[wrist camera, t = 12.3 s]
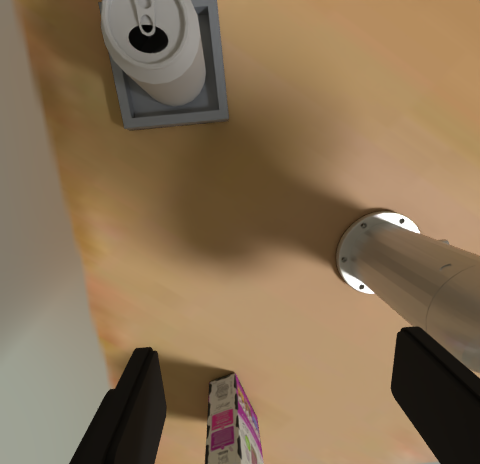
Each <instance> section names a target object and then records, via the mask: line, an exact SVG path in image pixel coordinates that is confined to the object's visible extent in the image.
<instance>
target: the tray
mask: <svg viewBox="0 0 480 464" xmlns="http://www.w3.org/2000/svg"><path fill="white" fill-rule="evenodd" d="M191 2H192V4H193V6H194V9H195V11H196V13H197V16H198V22H199V28H200V35H201V42H202V48H203V55H204V61H205V68H206V76H205V83H204V85H203V87H202V90H201V92H200V93H199V95H198V96H197V97H196V98H195V99H194V100H193V101H191V102H189V103H187V104H185V105H182V106H174V107H173V106H169V105H164V104H162V103H160V102H158V101H157V100H155V99H153V98H152V97H151V96H150V95H149V94H148V93H147V92H146V91H145V90H144V89H143V88H141V87H140V86H139V85H138V84H137V83H136V82H135V81H134V80H133V79H132V78H130V77H129V76H128V75H127V74H126V73H125V72H124V71H123V70H122V69H121V68H120V67H119V66H118V65H117V63H116V62H115V61H114V60H113V58H112V57H111V55H110V53H109V56H110V61H111V66H112V71H113V76H114V81H115V85H116V90H117V95H118V100H119V105H120V110H121V114H122V119H123V124H124V129H128V130H141V129H152V128H162V127H173V126H183V125H193V124H204V123H214V122H225V121H228V120H229V114H228V104H227V95H226V85H225V75H224V65H223V55H222V46H221V36H220V26H219V16H218V6H217V0H191ZM98 3H99V8H100V13H101V9H102V2H98ZM108 52H109V51H108Z"/></svg>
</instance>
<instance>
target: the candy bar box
mask: <svg viewBox="0 0 480 464" xmlns="http://www.w3.org/2000/svg"><path fill="white" fill-rule="evenodd" d="M205 464H264V463H263V456H262V449H261V441H260V434H259V427H258V420H257V416H256V414H255V412H254V410H253V408H252V406H251V404H250V402H249V400H248V398H247V396H246V394H245V392H244V390H243V388H242V386H241V384H240V382H239V380H238V378H237V376H236V374H235V373H233V374H230V375H227V376H225V377H222V378H219V379H216V380H213V381H211V382H209V400H208V419H207V438H206V454H205Z"/></svg>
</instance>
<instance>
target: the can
mask: <svg viewBox="0 0 480 464" xmlns="http://www.w3.org/2000/svg"><path fill="white" fill-rule="evenodd" d="M101 30H102V34H103V38H104V42H105V45H106V47H107V49H108V51H109V53H110V55H111V57H112V58H113V60H114V61H115V62H116V63H117V65H118V66H119V67H120V68H121V69H122V70H123V71H124V72H125V73H126V74H127V75H128V76H129V77H130V78H132V79H133V80H134V81H135V82H136V83H137V84H138V85H139V86H140V87H141V88H143V89H144V90H145V91H146V92H147V93H148V94H149V95H150V96H151V97H152V98H153V99H155V100H157V101H158V102H160V103H162V104H164V105H169V106H173V107H174V106H182V105H185V104H187V103H189V102H191V101H193V100H194V99H195V98H196V97H197V96H198V95H199V93H200V92H201V90H202V87H203V85H204V83H205V76H206V68H205V61H204V55H203V48H202V42H201V35H200V28H199V22H198V16H197V13H196V11H195V9H194V6H193V4H192V2H191V0H102V9H101Z"/></svg>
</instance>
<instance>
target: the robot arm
mask: <svg viewBox="0 0 480 464" xmlns="http://www.w3.org/2000/svg"><path fill="white" fill-rule="evenodd" d="M361 224H362V225H361ZM336 262H337V268H338V271H339V273H340V275H341V277H342V278H343V280H344V281H345V282H346V283H347V284H348V285H350V286H351V287H352V288H354V289H355V290H357V291H359V292H363V293H367V294H376V295H377V296H378V297H380V298H381V299H382V300H383V301H384V302H385V303H387V304H388V305H389V306H390V307H391V308H392V309H393V310H395V311H396V312H397V313H398V314H399V315H400V316H402V317H403V318H404V319H405V320H406V321H407V322H408V323H410V324H411V325H412V326H413V327H404V328H402V329H401V331H400V332H398V333H397V339H396V347H395V356H394V364H393V373H392V381H391V391H392V394H393V396H394V398H395V400H396V401H397V402H398V404H399V405H400V407H401V408H402V410H403V411H404V412H405V414H406V415H407V417H408V418H409V420H410V421H411V422H412V424H413V425H414V427H415V428H416V429H417V431H418V432H419V434H420V435H421V437H422V438H423V439H424V441H425V442H426V444H427V445H428V447H429V448H430V449H431V451H432V452H433V454H434V455H435V457H436V458H437V459H438V461H439V462H440V464H480V378H479V377H477V376H476V375H475V374H474V373H473V372H472V371H475V372H478V373H480V256H479V255H476V254H473V253H471V252H468V251H465V250H463V249H460V248H457V247H455V246H452V245H449V242H448V241H447V240H446V239H443V240H436V239H433V238H430V237H428V236H425V235H422V234H420V231H419V229H418V228H417V226H416V225H415V224H414V223H413V221H411V220H410V219H409V218H407V217H406V216H403V215H401V214H398V213H395V212H389V211H380V212H374V213H371V214H368V215H366V216H364V217H362V218H360V219H358V220H357V221H356V222H354V223H353V224H352V225H351V226H350V227H349V228H348V229H347V230H346V232H345V233H344V235H343V236H342V238H341V240H340V242H339V245H338V249H337V253H336ZM469 369H470V370H469ZM471 370H472V371H471ZM165 418H166V401H165V395H164V389H163V383H162V377H161V371H160V365H159V359H158V353H157V351H153V349H152V348H151V347H146V348H136V349H135V350H134V352H133V354H132V356H131V358H130V360H129V362H128V364H127V366H126V368H125V370H124V372H123V374H122V376H121V378H120V380H119V382H118V384H117V386H116V388H115V389H110V390H109V391H108V392H107V394H106V395H105V397H104V399H103V400H102V402H101V405H100V406H99V408H98V410H97V412H96V414H95V416H94V418H93V420H92V422H91V423H90V425H89V427H88V429H87V431H86V433H85V435H84V437H83V438H82V441H81V442H80V444H79V446H78V448H77V450H76V452H75V454H74V456H73V457H72V459H71V461H70V463H69V464H154V463H155V459H156V455H157V451H158V447H159V442H160V438H161V434H162V430H163V426H164V422H165Z"/></svg>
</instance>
